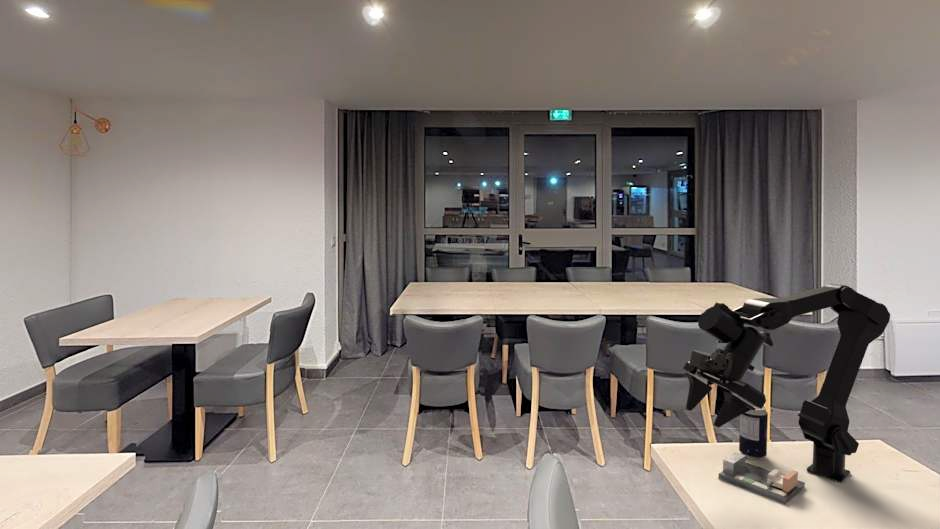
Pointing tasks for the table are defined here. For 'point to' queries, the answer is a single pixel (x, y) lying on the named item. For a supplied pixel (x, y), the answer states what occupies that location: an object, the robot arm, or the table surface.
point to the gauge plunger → (783, 480)
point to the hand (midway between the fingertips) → (701, 417)
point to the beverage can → (753, 433)
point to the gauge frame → (754, 478)
